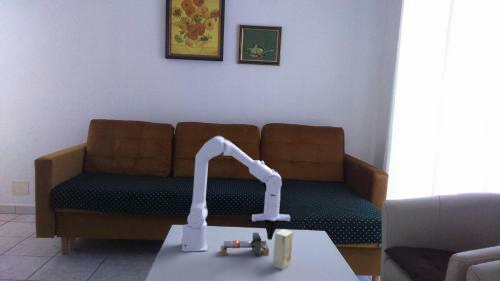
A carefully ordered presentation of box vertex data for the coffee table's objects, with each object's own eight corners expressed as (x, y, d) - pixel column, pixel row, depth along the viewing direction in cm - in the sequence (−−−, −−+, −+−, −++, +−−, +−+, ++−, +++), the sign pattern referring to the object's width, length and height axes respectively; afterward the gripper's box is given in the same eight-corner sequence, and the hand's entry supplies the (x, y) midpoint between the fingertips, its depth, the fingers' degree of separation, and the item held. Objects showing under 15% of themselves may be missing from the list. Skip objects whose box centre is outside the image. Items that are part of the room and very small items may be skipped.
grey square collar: (255, 256, 130) (256, 239, 130) (252, 248, 137) (253, 232, 136) (260, 256, 131) (261, 239, 130) (257, 248, 137) (258, 232, 136)
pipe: (221, 255, 129) (222, 243, 129) (220, 251, 133) (221, 238, 133) (268, 255, 133) (269, 242, 132) (266, 250, 136) (267, 238, 136)
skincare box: (283, 270, 121) (285, 236, 120) (272, 266, 124) (274, 233, 122) (290, 263, 127) (293, 231, 125) (280, 260, 129) (282, 228, 128)
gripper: (255, 207, 127) (252, 243, 129) (293, 207, 130) (290, 242, 131) (251, 201, 134) (249, 235, 136) (288, 202, 136) (285, 235, 138)
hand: (269, 238), depth 134 cm, fingers closed
